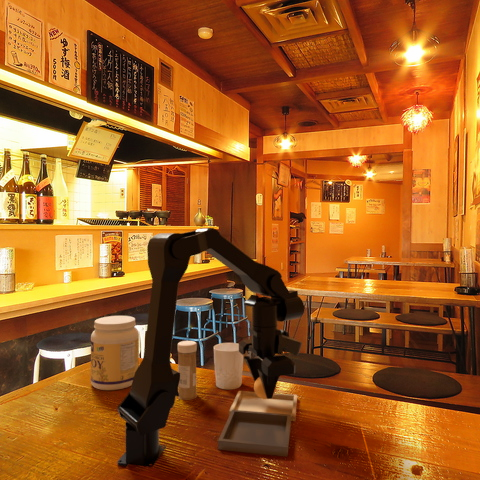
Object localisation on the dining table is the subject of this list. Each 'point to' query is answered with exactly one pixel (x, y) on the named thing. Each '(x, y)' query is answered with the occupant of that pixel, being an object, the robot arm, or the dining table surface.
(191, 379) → the sprinkles bottle
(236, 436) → the dish
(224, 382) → the white cup
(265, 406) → the tray
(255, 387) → the ball
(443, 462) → the dining table surface
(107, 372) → the supplement tub
